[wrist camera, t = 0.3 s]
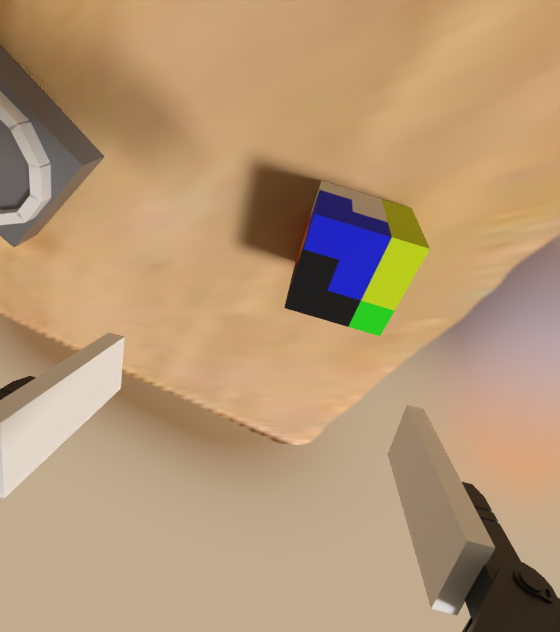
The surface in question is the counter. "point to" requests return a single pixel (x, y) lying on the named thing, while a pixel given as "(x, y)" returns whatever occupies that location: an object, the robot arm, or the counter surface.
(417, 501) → the robot arm
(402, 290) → the puzzle toy
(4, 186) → the grey square ring block
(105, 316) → the counter surface
